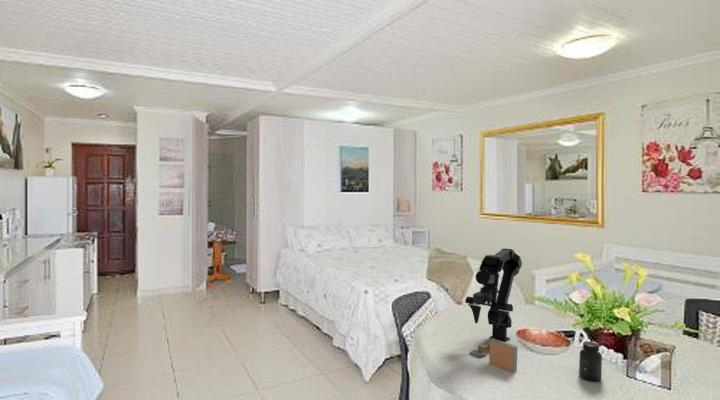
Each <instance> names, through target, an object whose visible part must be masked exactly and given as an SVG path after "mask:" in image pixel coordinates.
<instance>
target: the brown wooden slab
mask: <svg viewBox="0 0 720 400" xmlns="http://www.w3.org/2000/svg"><path fill="white" fill-rule="evenodd" d="M477 346H478V347H477V349H473V350H470V351H469V355H470V356H474V357H475V358H478V359H482V358H484V357H486V356H487V354H489V352H490V340H488V341H486V342H484V343H481V344H478V345H477Z"/></svg>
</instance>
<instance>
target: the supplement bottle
mask: <svg viewBox="0 0 720 400" xmlns="http://www.w3.org/2000/svg"><path fill="white" fill-rule="evenodd" d="M578 358H579V360H578V361H579V362H578V363H579V364H578V375H579V377H580V378H581V379H582V380H585V381H588V382H590V383H591V382H592V383H599V382H600V381H601V380H602V374H603V373H602V371H603V370H602V369H603V355H602V353H601V352H600V345H599V344H598V343H597V342H594V341H588V340H587V341H586V340H585V341H583V342H582V349H581V350H580V351H579V356H578Z"/></svg>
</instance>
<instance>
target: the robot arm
mask: <svg viewBox="0 0 720 400" xmlns="http://www.w3.org/2000/svg"><path fill="white" fill-rule="evenodd" d="M522 262H523V261H522V258H521V257H520V255H518V254H517V253H516V252H515V251H514V249H512V248H505V247H504V248H501V250H500V251H498V252H496V253H495V254H486V255H485V256H484V257H483V259H482V260H481V264H480V265H479V267H478V270H477V272H476V274H475V281H476V282H477V283H478V284H480V285H482V287H480V290H479V291H477V292H475V293H472V296H466V298H465V301H464V302H465V304H467V306H469V308H470V309H471V311H472V314H473V320H474V323H475V324H478V323H479V319H480V315H481V310H482V306H486V307H490V308H489V310H488V311H487V322H488V323H487V324H488V325H491V326H492V329H491V330H492V331H491V332H492V334H491V336H489V340H490V339H492V338H493V339H496V340H500V341H503V342H506V341H509V340H510V338H511V337H508V333H507V332H508V329H509V328H512V323H513V322H512V318H511V316H510V312H513V311H514V307H513V305H512V303H509V299H510V295H511V290H512V286H513V282H514V277H515V276H517V275H518V274H519V273H520V270H521V268H522V265H523V263H522ZM501 271H503V274H502V276H501V280H500V285H499V278H500V274H499V273H500V272H501ZM498 287H499V288H498ZM480 305H481V306H480Z"/></svg>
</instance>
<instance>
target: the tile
mask: <svg viewBox="0 0 720 400" xmlns="http://www.w3.org/2000/svg"><path fill="white" fill-rule="evenodd" d="M489 341H490V352H489V353H488V355H489V359H488V363H489V364H491V365H494V366H496V367H499V368H500V369H504V370H506V371H509V372H512V373H516V372H517V371H518V345H515V344H511V343H508V342H506V341H504V342H503V341H500V340H496V339H493V338H492V339H490V338H489Z"/></svg>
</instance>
